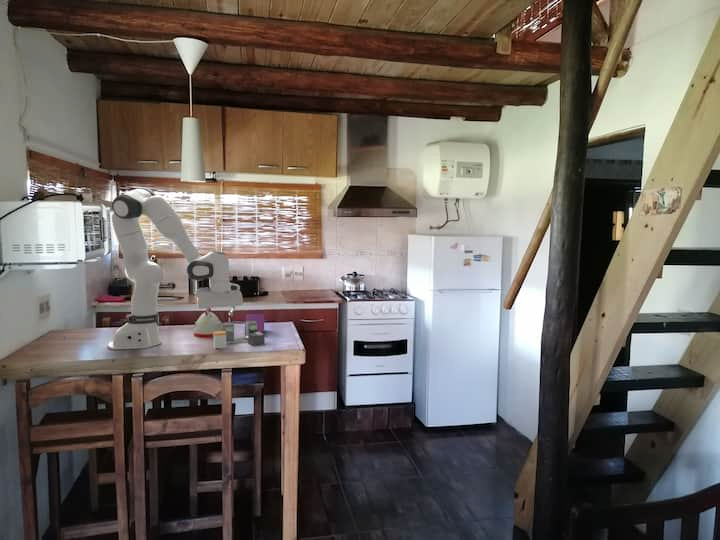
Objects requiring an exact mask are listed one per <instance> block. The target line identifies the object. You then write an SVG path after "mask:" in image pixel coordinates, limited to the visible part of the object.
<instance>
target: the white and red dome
mask: <svg viewBox="0 0 720 540" xmlns="http://www.w3.org/2000/svg"><path fill="white" fill-rule="evenodd" d="M208 312H209V313H211V314H212V315H211V316H212V317H210V318H208V313H207V312H206V310H205V309H204V312H203V313H202V314H201V315H200V316H199V318H198V319H197V321H194V322H195V323H194V326H193V327H194V329H193V336H194V337H196V338H202V337H203V338H204V339H205V338H207V339H208V338H214V334H213V332H217V331H222V321H221V320H220V319H219V317H218V316H217V315H216V314H215V313H213V312H212V308H209V310H208Z"/></svg>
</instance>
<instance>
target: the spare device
mask: <svg viewBox="0 0 720 540" xmlns="http://www.w3.org/2000/svg"><path fill="white" fill-rule="evenodd" d="M247 344H248V345H249V346H252V347H256V346H264V345H265V334H264V332H263V333H260V332H254V333H251V334H248V342H247Z"/></svg>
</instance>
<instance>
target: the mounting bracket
mask: <svg viewBox="0 0 720 540" xmlns="http://www.w3.org/2000/svg"><path fill="white" fill-rule="evenodd" d="M246 321H256V322H257V323H258V332H260V333H263V334H264V333H265V313H245V323H244V335H245V336H246Z"/></svg>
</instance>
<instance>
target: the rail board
mask: <svg viewBox="0 0 720 540" xmlns="http://www.w3.org/2000/svg"><path fill="white" fill-rule="evenodd" d="M221 325H222V331H225V332H226V345H231V343H233V344H243V343H248V334H251V333H254V332H258V323H257V322H256V321H246V335H245V336H235V325H234V323H233V322H221Z"/></svg>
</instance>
